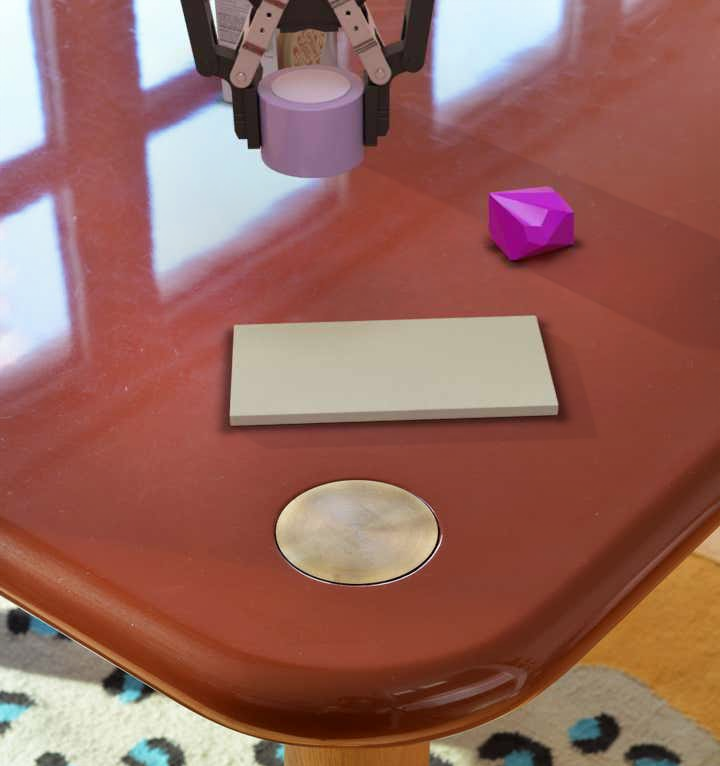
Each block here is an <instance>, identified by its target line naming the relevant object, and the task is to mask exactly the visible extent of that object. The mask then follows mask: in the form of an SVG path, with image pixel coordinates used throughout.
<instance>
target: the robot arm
mask: <svg viewBox="0 0 720 766" xmlns="http://www.w3.org/2000/svg"><path fill="white" fill-rule="evenodd" d="M248 1H249V2H250V3H251V4H252V6H251V8H250V10H249V13H248V15H247V18H246V21H245V24H244V27H243V30H242V32H241V35H240V37H239V40H238V42H237V44H236V47H235V49H231V48H228V47H225V46H222V45H219V42H218V34H217V27H216V25H215V19H214V15H213V10H212V6H211V0H179V2H180V5H181V8H182V14H183V18H184V19H183V20H184V22H185V28H186V32H187V36H188V41H189V44H190V50H191V53H192V57H193V62H194V66H195V69H196V72H197V73H198V74H199V75H200V76H201V77H204V78H212V77H216V78H219V79H221V78H222V79H224V80H225V81H227V82H228V84H229V85H230V87H231V91H232V103H231V105H232V118H233V131H234V133H235V136H236V137H237V139H238V140H246V142H247V143H246V145H247V150H260V133H259V116H258V99H257V86H258V82H257V72H256V70H257V68H258V65H259V63H260V61H261V58H262V56H263V54H265V52H266V50H267V48H268V46H269V43H270V41H271V39H272V36H273V34H274V32H275V30H276V28H277V29H280V33H295V32H299V31H302V30H306V29H314V30H318V31H322V32H337V33H339V29H340V28H342V29H343V31H344V34H345V35H346V38H347V39H348V42H349V43H350V45H351V48H352V49H353V51H354V52H355V53H356V54H357V56H358V58H359V59H360V62H361V64H362V65H363V67H364V69H362V78H363V79H362V81H363V82H364V98H365V148H366V147H367V148H368V147H369V148H370V147H372V148H373V147H378V137H387V134H388V132H389V130H390V118H391V117H390V113H391V112H390V111H391V109H390V107H391V106H390V104H391V103H390V102H391V101H390V100H391V99H390V97H391V94H390V92H391V83H392V81H393V79H394V78H395V77H397V76H399V75H401V74H404V73H406V72H408V73H410V74H414V73H415V74H416V73H418V72H420V71H421V70H422V69H423V67H424V65H425V60H426V56H427V55H426V54H427V50H428V49H427V48H428V42H429V37H430V31H431V30H430V29H431V23H432V18H433V12H434V5H435V0H405V4H404V5H405V6H404V12H403V18H402V23H401V31H400V37H399V40H397V41H394V42H392V43H388V44H387V45H385V42H384V40H383V39H382V36H381V34H380V32H379V30H378V29H377V26H376V24H375V21H374V19H373V16H372V14H371V11H370V10H369V8H368V6H367V3H366V1H367V0H248Z"/></svg>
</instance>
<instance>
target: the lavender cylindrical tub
mask: <svg viewBox="0 0 720 766" xmlns="http://www.w3.org/2000/svg"><path fill="white" fill-rule="evenodd" d="M257 99H258V116H259V133H260V149H259V150H260V151H259V152H260V159H261V161H262V162H263V164H264V165H265V166H266V167H267V168H268V169H270V170H272V171H273V172H275V173H278V174H281V175H285V176H289V177H294V178H300V179H320V178H321V179H322V178H328V177H329V178H330V177H334V176H338V175H342V174H344V173H347V172H349V171H352V170H353V169H355V168H356V167H358V166H359V165H360V164H361V163H362V162H363V161H364V159H365V156H366V147H365V98H364V82H363V79H362V78H361V77H360V76H358V75H357V74H356V73H354V72H352V71H350V70H347V69H343V68H341V67H338V68H337V67H331V66H322V65H303V66H295V67H289V68H285V69H281V70H278V71H275V72H273V73H271V74H269V75H267V76H265V77H264V78H263V79H262V80H261V81H260V82H259V84H258V86H257Z"/></svg>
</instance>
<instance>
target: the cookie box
mask: <svg viewBox="0 0 720 766" xmlns="http://www.w3.org/2000/svg"><path fill="white" fill-rule="evenodd" d="M251 6H252V4H251V3H250V2H249V1H248V0H214V11H215V20H216V22H215V23H216V33H217V37H218V42H219V45H222V46H225V47H228V48H231V49H235V47H236V44H237V42H238V40H239V37H240V35H241V32H242V30H243V27H244V24H245V21H246V18H247V15H248V13H249V10H250V8H251ZM338 59H339V58H338V32H322V31H318V30H314V29H306V30H302V31H299V32H295V33H280V29H277V28H276V30H275V32H274V34H273V36H272V39H271V41H270V43H269V46H268V48H267V50H266V52H265V54H263V56H262V58H261V61H260V63H259V65H258V68H257V70H256V72H257V82H258V84H259V82H260V81H261V80H262V79H263V78H264V77H265V76H267V75H269V74H271V73H273V72H275V71H278V70H281V69H285V68H289V67H295V66H303V65H322V66H331V67H337V68H339V64H338ZM220 79H221V89H222V99H223V101H225V102H226V103H231V104H232V91H231V87H230V85H229V84H228V82H227V81H225V80H224V79H222V78H220Z"/></svg>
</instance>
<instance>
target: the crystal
mask: <svg viewBox="0 0 720 766" xmlns="http://www.w3.org/2000/svg"><path fill="white" fill-rule="evenodd" d="M488 231H489V234H490V237H491V239H492V241H493V242H494V243H495V245H496V246H497V247H498V248H499V249H500V250H501V251H502V252H503V254H504V255H505V256H506V257H507V258H508V259H509V260H510V261H519V260H522V259H526V258H528V257H533V256H536V255H540V254H543V253H547V252H550V251H554V250H557V249H561V248H565V247H569V246H571V245H575V212H574V210H573V208H571V206H570V204H568V202H567V201H566V200H565V199H564V198H563V197H562V196H561V195H560V194H559V193H558V192H557V191H556V190H555V189H554V188H553V187H551V186H547V185H545V186H538V187H530V188H520V189H512V190H504V191H503V190H502V191H495V192H488Z"/></svg>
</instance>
